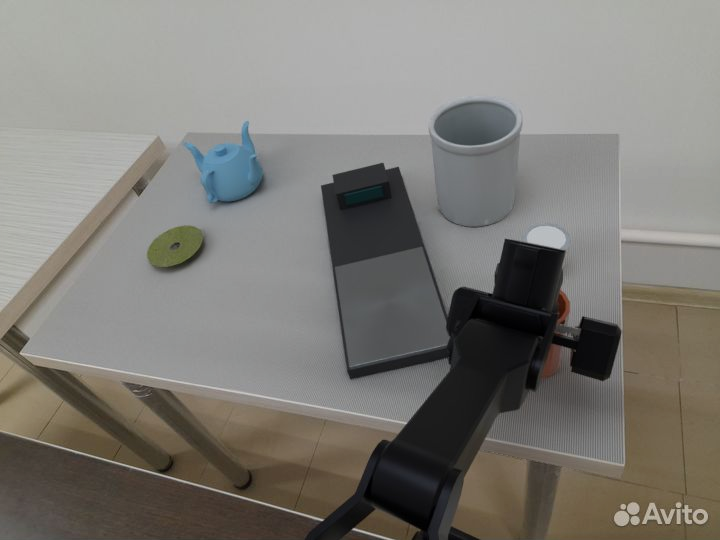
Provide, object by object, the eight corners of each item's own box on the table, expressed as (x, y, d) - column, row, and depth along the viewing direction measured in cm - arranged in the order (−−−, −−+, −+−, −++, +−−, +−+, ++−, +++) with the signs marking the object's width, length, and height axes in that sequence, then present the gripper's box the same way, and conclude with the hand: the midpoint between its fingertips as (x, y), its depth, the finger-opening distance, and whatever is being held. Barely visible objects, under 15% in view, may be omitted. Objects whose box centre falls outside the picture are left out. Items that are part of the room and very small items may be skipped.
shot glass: (518, 283, 82) (519, 252, 77) (522, 251, 86) (524, 220, 81) (565, 288, 80) (569, 256, 75) (567, 255, 84) (571, 223, 79)
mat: (152, 242, 106) (147, 235, 105) (205, 225, 107) (201, 218, 105) (150, 280, 99) (145, 273, 97) (207, 262, 99) (203, 255, 98)
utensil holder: (525, 180, 98) (530, 95, 85) (510, 235, 89) (512, 149, 76) (448, 173, 103) (442, 92, 91) (427, 224, 95) (416, 143, 82)
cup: (569, 372, 70) (579, 319, 62) (518, 384, 71) (521, 333, 62) (549, 331, 75) (556, 276, 66) (501, 342, 75) (502, 289, 67)
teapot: (207, 217, 109) (186, 178, 101) (201, 177, 119) (181, 139, 112) (274, 194, 110) (258, 153, 102) (262, 156, 120) (247, 117, 113)
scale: (458, 355, 75) (455, 329, 71) (350, 379, 76) (340, 355, 71) (400, 176, 106) (395, 149, 101) (323, 194, 106) (315, 169, 102)
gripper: (636, 286, 49) (633, 277, 63) (447, 246, 57) (482, 246, 71) (606, 398, 50) (610, 365, 64) (427, 343, 59) (465, 325, 72)
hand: (538, 321), depth 68 cm, fingers open, 9 cm apart
